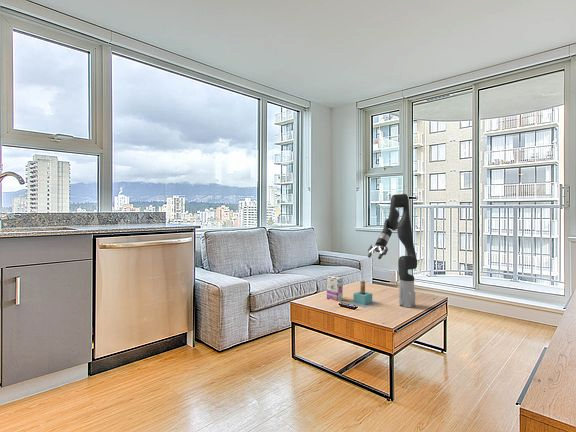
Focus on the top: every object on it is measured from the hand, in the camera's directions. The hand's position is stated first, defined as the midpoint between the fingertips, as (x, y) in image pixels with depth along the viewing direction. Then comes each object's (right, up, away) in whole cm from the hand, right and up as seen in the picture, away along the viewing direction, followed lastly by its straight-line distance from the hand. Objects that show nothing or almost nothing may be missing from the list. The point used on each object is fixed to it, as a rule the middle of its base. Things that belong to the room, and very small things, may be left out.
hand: (373, 257), depth 241 cm
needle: (-11, -28, -14) cm, 34 cm away
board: (-11, -29, -16) cm, 35 cm away
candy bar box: (-29, -29, -6) cm, 42 cm away
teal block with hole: (-11, -28, -14) cm, 34 cm away
